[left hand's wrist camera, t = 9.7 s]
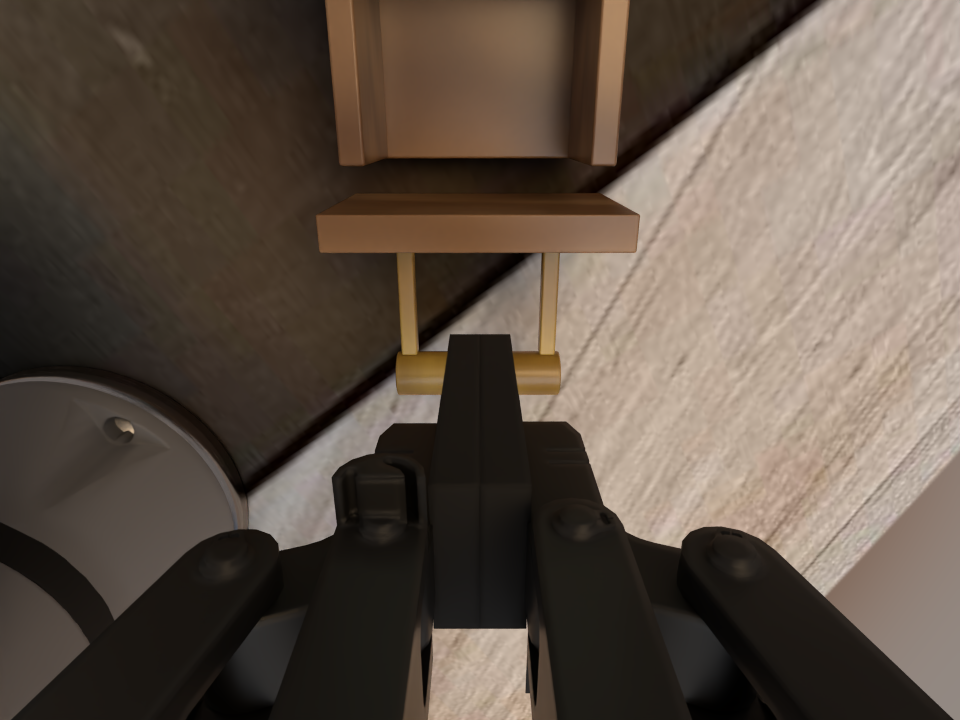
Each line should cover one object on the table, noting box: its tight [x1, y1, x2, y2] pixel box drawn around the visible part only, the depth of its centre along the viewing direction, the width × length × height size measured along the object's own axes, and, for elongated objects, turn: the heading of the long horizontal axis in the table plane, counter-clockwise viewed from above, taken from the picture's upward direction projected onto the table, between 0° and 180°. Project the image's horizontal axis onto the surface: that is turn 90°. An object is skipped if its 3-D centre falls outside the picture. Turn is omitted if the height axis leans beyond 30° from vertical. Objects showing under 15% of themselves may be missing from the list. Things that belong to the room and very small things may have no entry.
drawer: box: [316, 0, 640, 395], centre depth 19 cm, size 23×10×6 cm, turn 0°
